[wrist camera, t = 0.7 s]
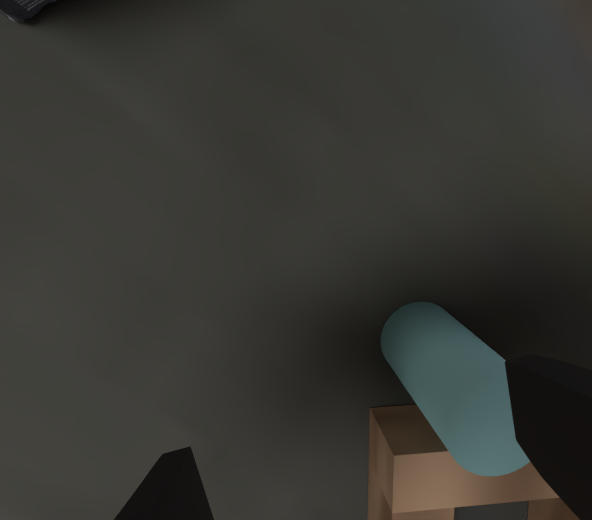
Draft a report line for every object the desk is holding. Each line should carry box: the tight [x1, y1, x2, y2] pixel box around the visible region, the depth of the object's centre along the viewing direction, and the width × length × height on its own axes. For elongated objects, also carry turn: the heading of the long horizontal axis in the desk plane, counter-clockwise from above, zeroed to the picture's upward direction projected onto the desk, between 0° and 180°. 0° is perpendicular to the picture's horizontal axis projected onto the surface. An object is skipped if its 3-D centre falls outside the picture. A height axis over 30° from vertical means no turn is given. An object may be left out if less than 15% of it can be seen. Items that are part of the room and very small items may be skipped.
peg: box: [380, 302, 530, 476], centre depth 19 cm, size 3×3×7 cm
